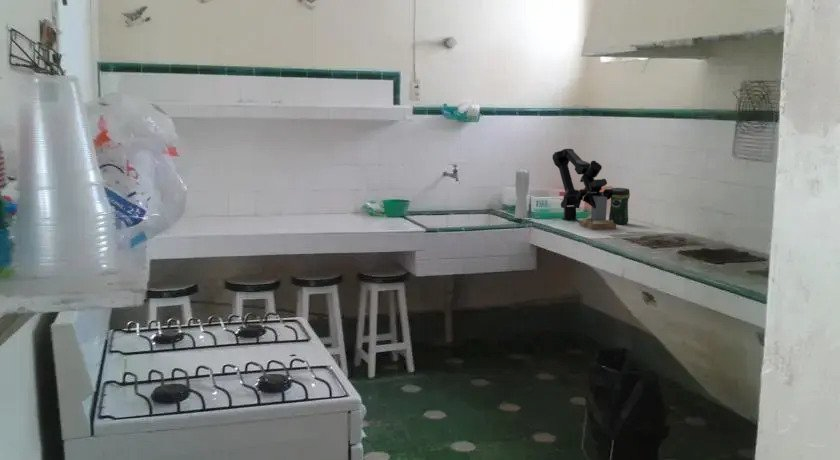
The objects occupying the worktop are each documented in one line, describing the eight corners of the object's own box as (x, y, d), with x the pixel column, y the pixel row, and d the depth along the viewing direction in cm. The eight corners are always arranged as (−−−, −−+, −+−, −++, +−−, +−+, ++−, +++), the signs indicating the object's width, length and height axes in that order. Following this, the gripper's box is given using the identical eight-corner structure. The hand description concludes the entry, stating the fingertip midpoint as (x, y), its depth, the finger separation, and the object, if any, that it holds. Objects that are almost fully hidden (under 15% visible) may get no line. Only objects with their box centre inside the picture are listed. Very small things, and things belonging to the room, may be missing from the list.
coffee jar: (630, 223, 397) (632, 188, 394) (623, 225, 391) (625, 189, 388) (613, 221, 403) (615, 186, 400) (606, 223, 397) (608, 187, 394)
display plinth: (580, 225, 386) (580, 217, 386) (600, 224, 390) (601, 217, 389) (594, 229, 373) (595, 221, 372) (616, 229, 377) (616, 221, 376)
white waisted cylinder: (525, 221, 400) (527, 167, 396) (511, 219, 404) (513, 167, 400) (531, 219, 407) (533, 167, 403) (517, 218, 411) (519, 166, 407)
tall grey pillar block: (590, 220, 383) (592, 196, 381) (600, 219, 384) (601, 196, 382) (596, 221, 378) (597, 197, 376) (605, 221, 380) (607, 197, 378)
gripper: (580, 173, 378) (590, 198, 370) (612, 173, 384) (623, 197, 375) (571, 187, 387) (581, 212, 378) (603, 187, 393) (614, 211, 384)
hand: (600, 207), depth 379 cm, fingers closed on tall grey pillar block, 5 cm apart
